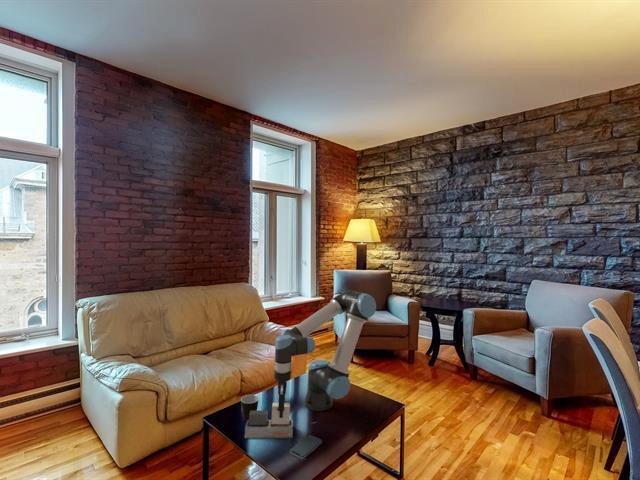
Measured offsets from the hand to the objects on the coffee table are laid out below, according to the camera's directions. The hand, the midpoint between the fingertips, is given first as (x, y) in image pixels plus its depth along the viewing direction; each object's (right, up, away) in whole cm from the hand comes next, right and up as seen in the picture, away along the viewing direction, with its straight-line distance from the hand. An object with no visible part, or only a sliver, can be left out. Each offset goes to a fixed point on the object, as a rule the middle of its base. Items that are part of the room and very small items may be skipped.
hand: (281, 421), depth 149 cm
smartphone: (+12, -6, -10) cm, 17 cm away
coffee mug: (-17, -5, +11) cm, 21 cm away
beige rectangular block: (0, 0, 0) cm, 0 cm away
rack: (-5, -5, 0) cm, 7 cm away
